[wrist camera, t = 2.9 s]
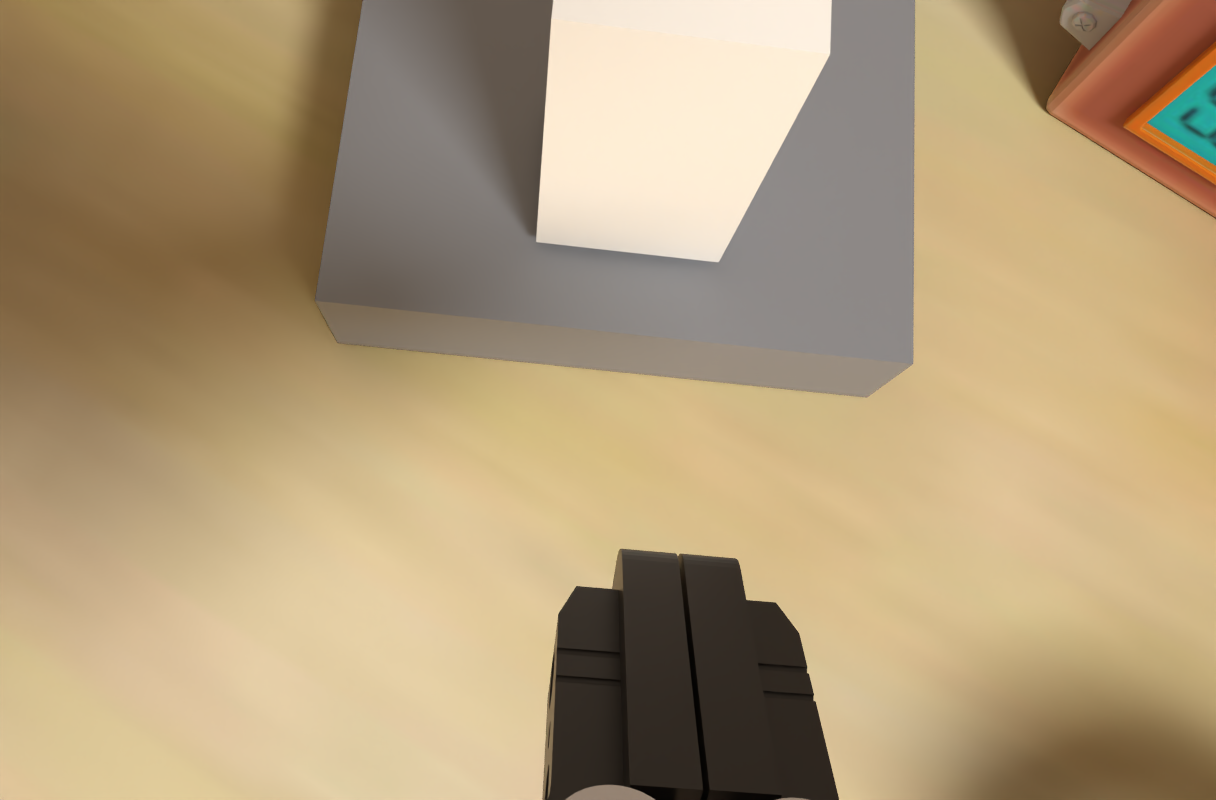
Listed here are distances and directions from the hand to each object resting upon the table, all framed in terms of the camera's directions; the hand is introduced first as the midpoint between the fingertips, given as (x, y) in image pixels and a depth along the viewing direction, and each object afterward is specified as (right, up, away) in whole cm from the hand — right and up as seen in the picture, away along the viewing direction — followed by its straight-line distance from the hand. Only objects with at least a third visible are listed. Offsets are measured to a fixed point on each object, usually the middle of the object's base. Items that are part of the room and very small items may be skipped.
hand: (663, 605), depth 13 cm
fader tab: (0, +7, +10) cm, 12 cm away
